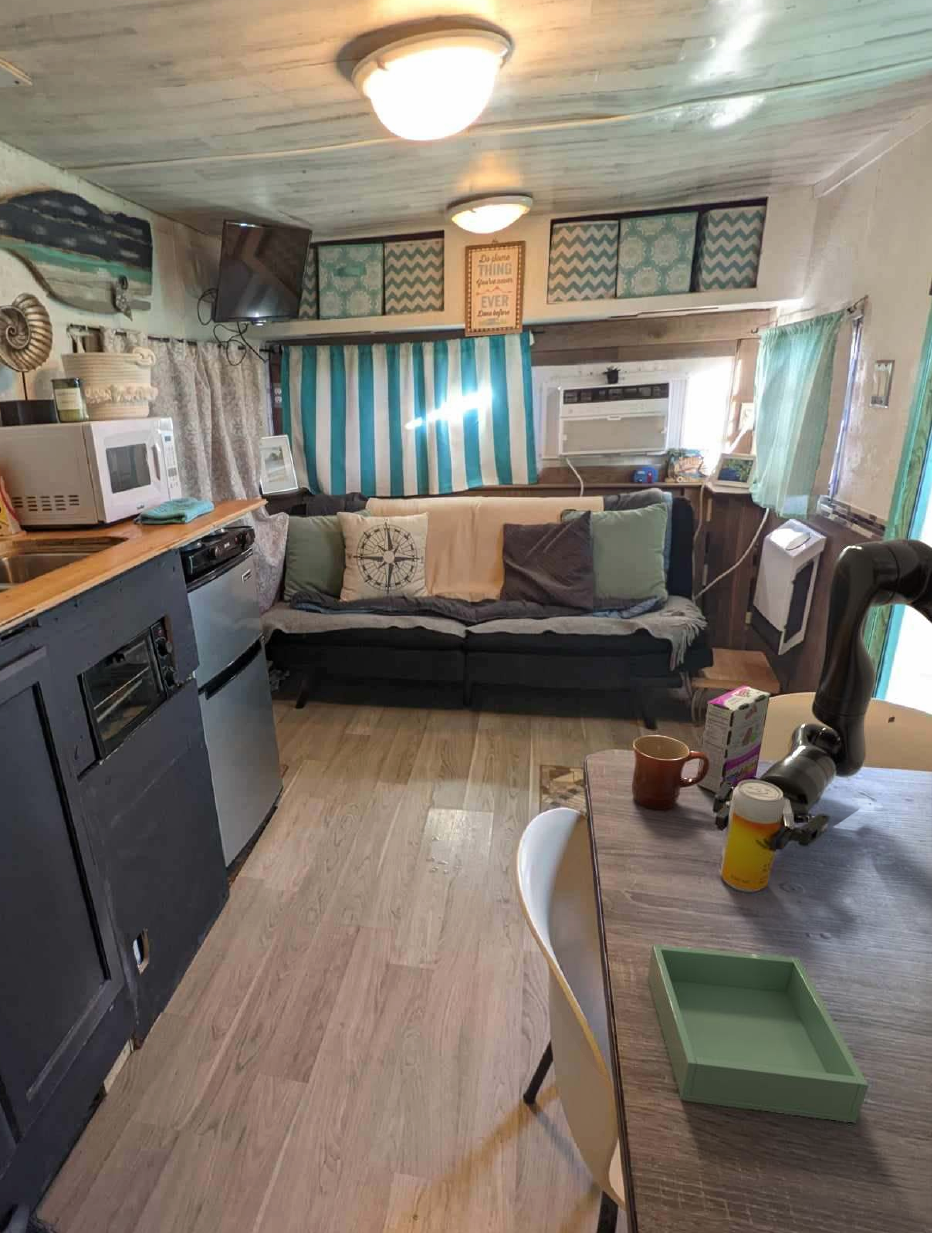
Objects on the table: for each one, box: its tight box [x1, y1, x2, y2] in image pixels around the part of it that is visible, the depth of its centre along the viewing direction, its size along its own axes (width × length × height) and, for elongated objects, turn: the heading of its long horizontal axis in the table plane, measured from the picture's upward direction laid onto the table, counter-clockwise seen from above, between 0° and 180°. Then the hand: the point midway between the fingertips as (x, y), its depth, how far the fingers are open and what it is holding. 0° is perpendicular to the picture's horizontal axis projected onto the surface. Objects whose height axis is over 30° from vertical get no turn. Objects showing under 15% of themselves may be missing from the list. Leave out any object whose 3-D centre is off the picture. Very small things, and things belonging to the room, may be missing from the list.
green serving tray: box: [647, 944, 869, 1124], centre depth 73 cm, size 16×16×5 cm
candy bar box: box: [696, 685, 771, 795], centre depth 119 cm, size 11×5×16 cm, turn 122°
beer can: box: [718, 779, 785, 893], centre depth 95 cm, size 6×6×15 cm
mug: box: [631, 734, 709, 810], centre depth 115 cm, size 12×9×10 cm
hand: (746, 834), depth 93 cm, fingers closed on beer can, 6 cm apart
